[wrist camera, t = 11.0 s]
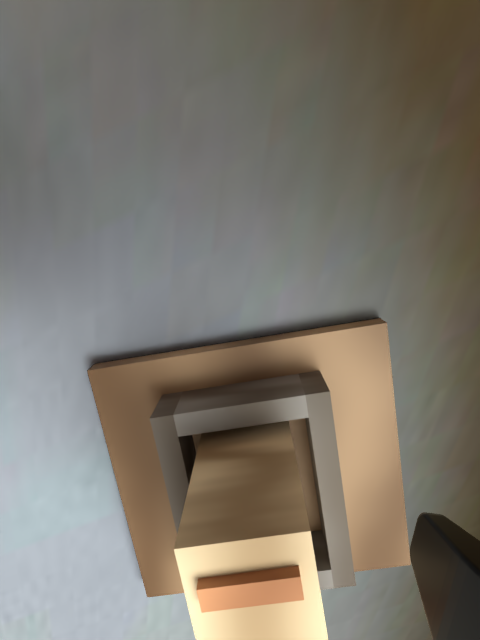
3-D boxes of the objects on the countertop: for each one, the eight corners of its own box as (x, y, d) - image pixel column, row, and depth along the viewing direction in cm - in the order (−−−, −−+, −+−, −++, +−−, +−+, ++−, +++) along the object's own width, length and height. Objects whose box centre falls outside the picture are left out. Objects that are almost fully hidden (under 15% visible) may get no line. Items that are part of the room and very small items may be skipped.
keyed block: (226, 529, 21) (211, 721, 13) (204, 422, 20) (171, 560, 12) (304, 518, 21) (339, 707, 13) (286, 409, 20) (312, 541, 11)
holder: (151, 581, 23) (134, 643, 20) (94, 363, 20) (63, 391, 17) (403, 549, 22) (431, 608, 19) (380, 318, 19) (407, 337, 16)
